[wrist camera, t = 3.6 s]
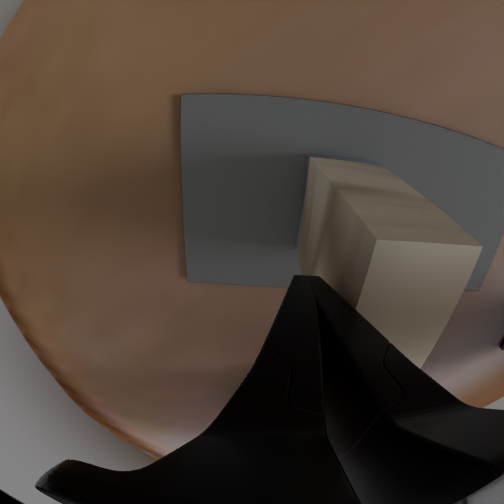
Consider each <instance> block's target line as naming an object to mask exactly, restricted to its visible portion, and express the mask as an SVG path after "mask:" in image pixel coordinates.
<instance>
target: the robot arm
mask: <svg viewBox="0 0 504 504" xmlns="http://www.w3.org/2000/svg"><path fill="white" fill-rule="evenodd" d="M500 348H501V350H504V340H503V341H502V343H501V344H500ZM35 487H36V489H37V490H39V491H40V492H42V493H44V494H45V495H47V496H49V497H51V498H53V499H54V500H56V501H58V502H60V503H62V504H504V410H496V409H485V408H477V407H473V406H470V405H467V404H465V403H463V402H462V401H460V400H459V399H457V398H456V397H455V396H453V395H452V394H451V393H450V392H448V391H447V390H446V389H445V388H443V387H442V386H441V385H440V384H438V383H437V382H436V381H435V380H433V379H432V378H431V377H430V376H428V375H427V374H426V373H425V372H423V371H422V370H421V369H420V368H419V367H417V366H416V365H415V364H414V363H413V362H411V361H410V360H409V359H408V358H407V357H406V356H405V355H404V354H403V353H402V352H400V351H399V350H398V349H397V348H396V347H395V346H394V345H393V344H392V343H390V342H389V340H388V339H387V338H386V337H385V336H383V335H382V334H381V333H380V332H379V331H378V330H377V329H376V328H375V327H374V326H373V325H372V324H371V323H370V322H369V321H368V320H366V319H365V318H364V317H363V316H362V315H361V314H360V313H359V312H358V311H357V310H356V309H355V308H354V307H353V306H351V305H350V304H349V303H348V302H347V301H346V300H345V299H344V298H343V297H342V296H341V295H340V294H338V293H337V292H336V291H335V290H334V289H333V288H332V287H331V286H330V285H329V284H328V283H326V282H325V281H324V280H323V279H322V278H321V277H320V276H313V275H294V276H293V278H292V280H291V283H290V285H289V288H288V290H287V292H286V295H285V297H284V299H283V302H282V304H281V306H280V309H279V311H278V313H277V316H276V318H275V320H274V322H273V325H272V327H271V329H270V331H269V334H268V336H267V338H266V340H265V343H264V345H263V346H262V349H261V351H260V353H259V355H258V357H257V359H256V361H255V363H254V365H253V367H252V368H251V370H250V372H249V373H248V375H247V376H246V378H245V379H244V381H243V382H242V384H241V385H240V387H239V388H238V389H237V391H236V392H235V393H234V395H233V396H232V398H231V399H230V400H229V402H228V403H227V404H226V406H225V407H224V408H223V410H222V411H221V412H220V414H219V415H218V416H217V418H216V419H215V420H214V421H213V422H212V424H211V425H210V426H209V427H208V428H207V429H206V430H205V431H204V432H203V433H201V434H200V435H199V436H197V437H196V438H194V439H193V440H191V441H189V442H188V443H186V444H185V445H183V446H181V447H180V448H178V449H176V450H175V451H173V452H171V453H169V454H168V455H166V456H164V457H163V458H161V459H159V460H157V461H155V462H154V463H152V464H150V465H148V466H146V467H143V468H141V469H137V470H132V471H115V470H109V469H105V468H101V467H98V466H95V465H92V464H89V463H85V462H82V461H77V460H65V461H62V462H61V463H59V464H58V465H56V466H55V467H53V468H51V469H50V470H49V471H47V472H46V473H45V474H44V475H43V476H42V477H40V479H39V480H38V481H37V483H36V485H35ZM0 504H24V503H22V502H21V501H19V500H17V499H16V498H14V497H12V496H10V495H9V494H7V493H5V492H4V491H2V490H1V489H0Z"/></svg>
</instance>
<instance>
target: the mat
mask: <svg viewBox="0 0 504 504" xmlns="http://www.w3.org/2000/svg"><path fill="white" fill-rule="evenodd" d="M308 154H309V155H319V156H329V157H337V158H346V159H354V160H361V161H368V162H375V163H379V164H380V165H381V166H383V167H384V168H386V169H387V170H389V171H390V172H392V173H393V174H394V175H396V176H397V177H399V178H400V179H401V180H403V181H404V182H406V183H407V184H408V185H410V186H411V187H412V188H414V189H415V190H416V191H418V192H419V193H420V194H422V195H423V196H424V197H425V198H427V199H428V200H429V201H431V202H432V203H433V204H434V205H436V206H437V207H438V208H439V209H441V210H442V211H443V212H444V213H445V214H447V215H448V216H449V217H450V218H451V219H453V220H454V221H455V222H456V223H457V224H458V225H460V226H461V227H462V228H463V229H464V230H465V231H466V232H468V233H469V234H470V235H471V236H472V237H473V238H474V239H475V240H476V241H477V242H479V243H480V244H481V245H482V246H483V247H482V250H481V253H480V255H479V257H478V260H477V262H476V265H475V267H474V269H473V272H472V274H471V276H470V279H469V281H468V283H467V285H466V287H465V290H464V291H479V289H480V287H481V284H482V282H483V280H484V278H485V276H486V274H487V271H488V269H489V267H490V265H491V262H492V260H493V257H494V255H495V253H496V250H497V247H498V245H499V242H500V240H501V237H502V234H503V232H504V149H501V148H499V147H496V146H494V145H491V144H489V143H486V142H484V141H481V140H478V139H475V138H473V137H470V136H467V135H464V134H461V133H458V132H455V131H452V130H448V129H445V128H442V127H439V126H435V125H432V124H428V123H425V122H421V121H417V120H413V119H410V118H406V117H401V116H397V115H393V114H388V113H384V112H379V111H374V110H369V109H364V108H359V107H353V106H347V105H341V104H335V103H328V102H321V101H313V100H305V99H296V98H286V97H274V96H259V95H237V94H183V95H181V177H182V206H183V227H184V244H185V259H186V272H187V281H189V282H203V283H218V284H234V285H251V286H270V287H289V285H290V283H291V280H292V278H293V276H294V275H302V272H301V269H300V265H299V261H298V258H297V254H296V251H295V250H296V243H297V236H298V228H299V221H300V213H301V206H302V198H303V190H304V182H305V173H306V165H307V156H308Z"/></svg>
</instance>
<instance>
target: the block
mask: <svg viewBox="0 0 504 504" xmlns="http://www.w3.org/2000/svg"><path fill="white" fill-rule="evenodd" d="M482 247H483V246H482V245H481V244H480V243H479V242H477V241H476V240H475V239H474V238H473V237H472V236H471V235H470V234H469V233H468V232H466V231H465V230H464V229H463V228H462V227H461V226H460V225H458V224H457V223H456V222H455V221H454V220H453V219H451V218H450V217H449V216H448V215H447V214H445V213H444V212H443V211H442V210H441V209H439V208H438V207H437V206H436V205H434V204H433V203H432V202H431V201H429V200H428V199H427V198H425V197H424V196H423V195H422V194H420V193H419V192H418V191H416V190H415V189H414V188H412V187H411V186H410V185H408V184H407V183H406V182H404V181H403V180H401V179H400V178H399V177H397V176H396V175H394V174H393V173H392V172H390V171H389V170H387V169H386V168H384V167H383V166H381V165H380V164H379V163H375V162H368V161H361V160H354V159H346V158H337V157H329V156H319V155H309V154H308V156H307V165H306V173H305V182H304V190H303V198H302V206H301V213H300V221H299V228H298V236H297V243H296V250H295V251H296V254H297V258H298V261H299V265H300V269H301V272H302V275H313V276H320V277H321V278H322V279H323V280H324V281H325V282H326V283H328V284H329V285H330V286H331V287H332V288H333V289H334V290H335V291H336V292H337V293H338V294H340V295H341V296H342V297H343V298H344V299H345V300H346V301H347V302H348V303H349V304H350V305H351V306H353V307H354V308H355V309H356V310H357V311H358V312H359V313H360V314H361V315H362V316H363V317H364V318H365V319H366V320H368V321H369V322H370V323H371V324H372V325H373V326H374V327H375V328H376V329H377V330H378V331H379V332H380V333H381V334H382V335H383V336H385V337H386V338H387V339H388V340H389V342H390V343H392V344H393V345H394V346H395V347H396V348H397V349H398V350H399V351H400V352H402V353H403V354H404V355H405V356H406V357H407V358H408V359H409V360H410V361H411V362H413V363H414V364H415V365H416V366H417V367H419V368H421V367H422V365H423V364H424V362H425V361H426V359H427V357H428V356H429V354H430V353H431V351H432V349H433V348H434V346H435V344H436V343H437V341H438V339H439V337H440V336H441V334H442V332H443V330H444V329H445V327H446V325H447V323H448V321H449V319H450V318H451V316H452V314H453V312H454V310H455V308H456V306H457V304H458V302H459V300H460V298H461V296H462V294H463V292H464V290H465V287H466V285H467V283H468V281H469V279H470V276H471V274H472V272H473V269H474V267H475V265H476V262H477V260H478V257H479V255H480V253H481V250H482Z"/></svg>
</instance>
